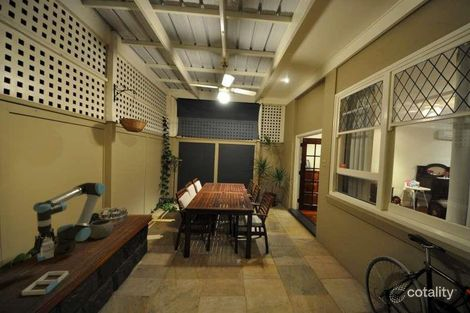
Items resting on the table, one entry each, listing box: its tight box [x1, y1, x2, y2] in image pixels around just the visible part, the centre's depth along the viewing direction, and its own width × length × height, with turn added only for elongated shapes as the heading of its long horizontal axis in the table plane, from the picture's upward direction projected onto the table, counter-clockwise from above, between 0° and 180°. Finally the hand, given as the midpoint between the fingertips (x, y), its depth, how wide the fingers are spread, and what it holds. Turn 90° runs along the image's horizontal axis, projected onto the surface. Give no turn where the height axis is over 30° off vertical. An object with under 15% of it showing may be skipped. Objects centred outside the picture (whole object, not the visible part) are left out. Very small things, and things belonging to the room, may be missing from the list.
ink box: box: [37, 237, 55, 262], centre depth 148 cm, size 8×5×15 cm, turn 141°
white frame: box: [21, 270, 69, 296], centre depth 135 cm, size 20×14×4 cm
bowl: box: [88, 219, 114, 240], centre depth 210 cm, size 23×23×15 cm
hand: (45, 253), depth 149 cm, fingers closed on ink box, 9 cm apart
